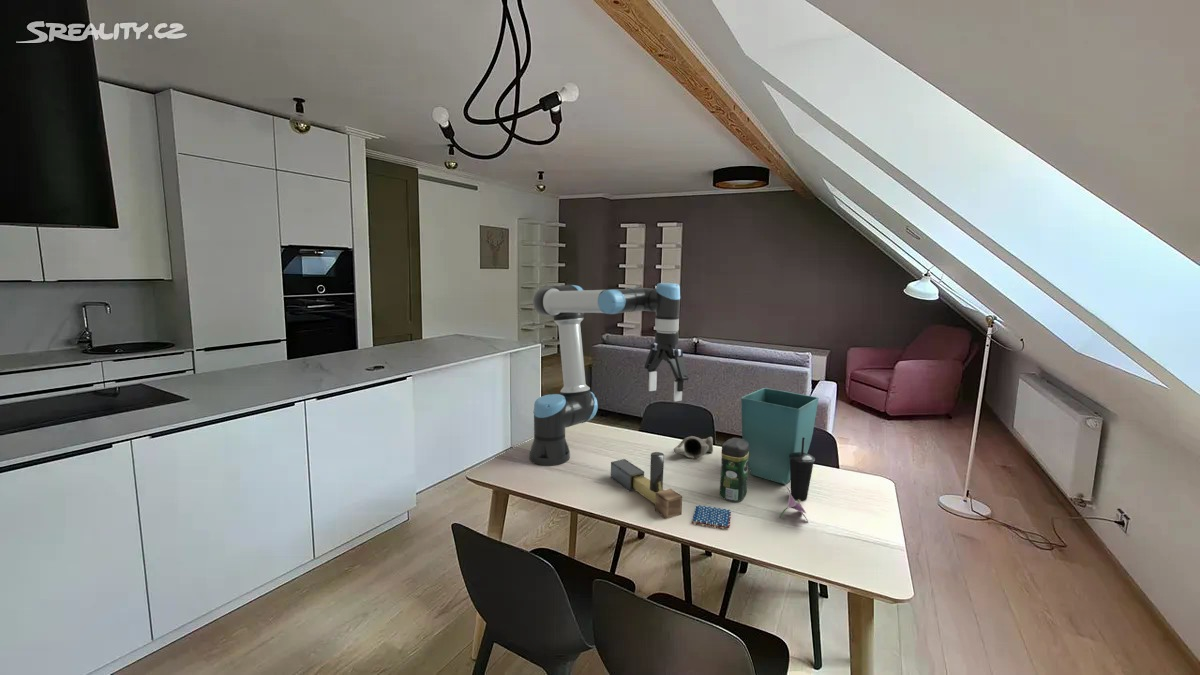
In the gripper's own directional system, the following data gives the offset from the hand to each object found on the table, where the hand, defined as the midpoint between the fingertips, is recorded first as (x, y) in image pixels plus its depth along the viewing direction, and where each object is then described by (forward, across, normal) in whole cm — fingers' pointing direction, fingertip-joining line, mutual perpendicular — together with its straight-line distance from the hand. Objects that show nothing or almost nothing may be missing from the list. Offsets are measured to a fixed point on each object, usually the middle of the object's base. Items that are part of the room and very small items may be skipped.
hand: (664, 395), depth 168 cm
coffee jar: (+31, -18, -15) cm, 39 cm away
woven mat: (+31, -26, +1) cm, 41 cm away
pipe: (+31, +14, -27) cm, 43 cm away
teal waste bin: (+31, -13, -40) cm, 52 cm away
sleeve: (+31, +6, +10) cm, 33 cm away
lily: (+31, -37, -21) cm, 53 cm away
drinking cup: (+31, -29, -33) cm, 54 cm away
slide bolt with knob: (+29, -7, +10) cm, 32 cm away
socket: (+31, -17, +10) cm, 36 cm away
